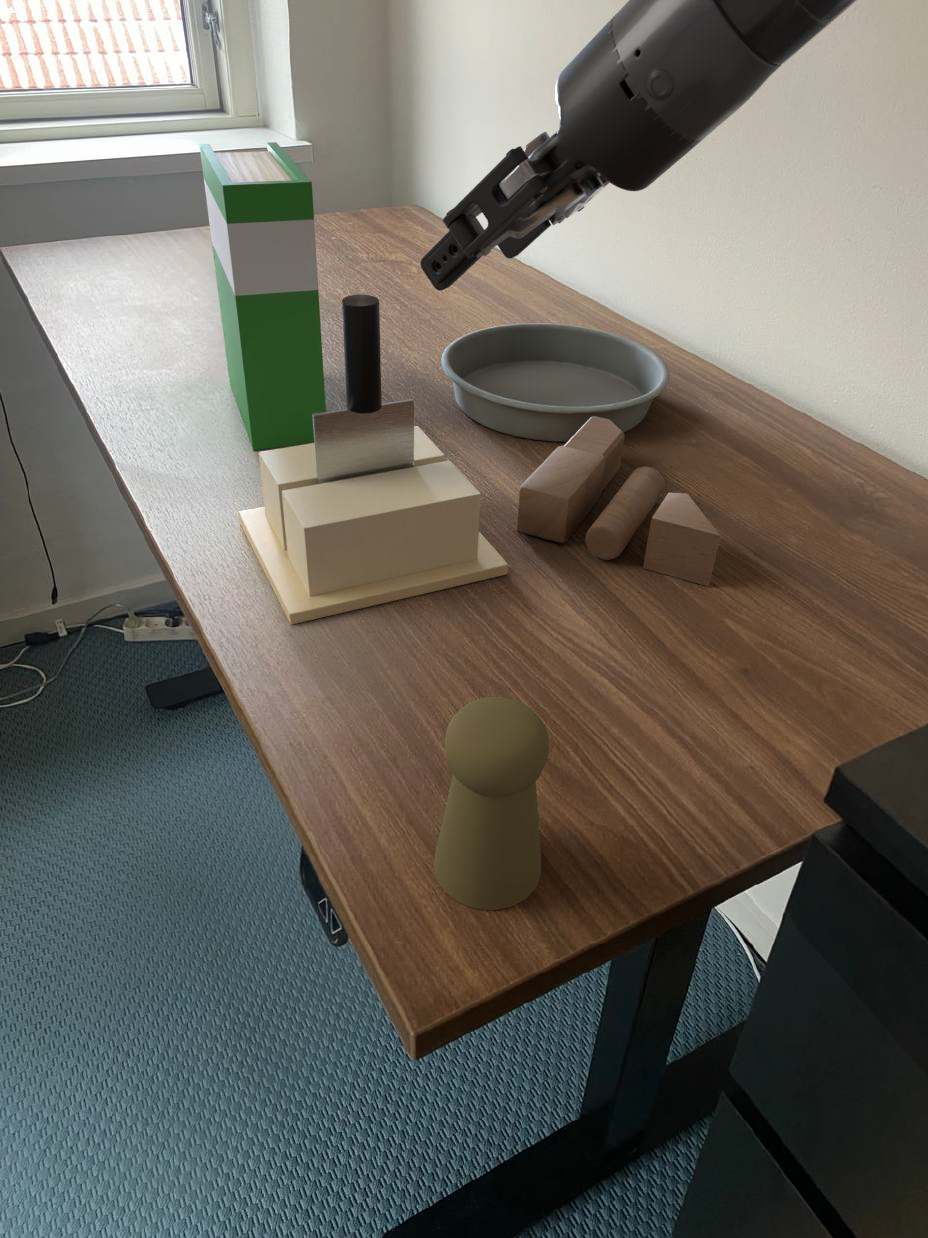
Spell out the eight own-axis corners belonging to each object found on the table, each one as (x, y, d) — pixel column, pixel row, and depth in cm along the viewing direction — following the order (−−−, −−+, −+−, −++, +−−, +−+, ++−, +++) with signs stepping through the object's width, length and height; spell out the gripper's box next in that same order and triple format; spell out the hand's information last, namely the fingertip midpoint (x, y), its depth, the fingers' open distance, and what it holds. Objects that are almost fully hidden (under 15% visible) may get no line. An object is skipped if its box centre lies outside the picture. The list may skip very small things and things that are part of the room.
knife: (322, 494, 71) (311, 312, 63) (313, 478, 73) (300, 300, 64) (419, 476, 74) (420, 299, 65) (407, 462, 76) (406, 288, 67)
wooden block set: (514, 479, 76) (590, 401, 89) (510, 538, 79) (583, 455, 92) (719, 532, 70) (767, 440, 83) (705, 593, 73) (754, 496, 86)
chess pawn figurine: (420, 896, 50) (421, 750, 43) (448, 813, 54) (453, 669, 48) (531, 921, 49) (549, 776, 42) (550, 834, 53) (569, 691, 47)
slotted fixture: (290, 625, 68) (282, 544, 64) (238, 521, 80) (229, 447, 76) (508, 574, 75) (513, 498, 70) (430, 484, 86) (431, 414, 82)
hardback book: (229, 381, 104) (199, 144, 89) (295, 374, 106) (276, 142, 91) (253, 450, 90) (222, 185, 76) (327, 441, 92) (311, 181, 78)
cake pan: (606, 473, 89) (612, 430, 86) (396, 410, 99) (396, 370, 96) (696, 390, 106) (703, 352, 103) (509, 343, 116) (511, 307, 113)
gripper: (677, 1, 52) (490, 190, 63) (563, 11, 42) (366, 233, 53) (748, 119, 53) (552, 284, 64) (654, 156, 43) (441, 343, 55)
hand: (468, 260), depth 59 cm, fingers open, 8 cm apart
